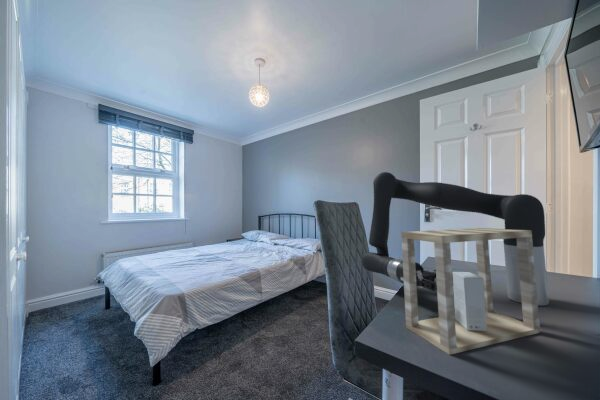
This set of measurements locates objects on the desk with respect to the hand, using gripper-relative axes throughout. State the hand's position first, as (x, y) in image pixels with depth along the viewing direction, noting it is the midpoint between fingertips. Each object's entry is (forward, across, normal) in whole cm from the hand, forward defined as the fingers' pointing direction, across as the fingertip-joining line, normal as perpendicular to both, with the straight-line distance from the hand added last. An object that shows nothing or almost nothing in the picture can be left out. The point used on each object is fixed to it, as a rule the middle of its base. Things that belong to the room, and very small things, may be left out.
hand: (448, 285), depth 62 cm
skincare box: (+5, 0, +8) cm, 10 cm away
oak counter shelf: (+5, 0, +9) cm, 10 cm away
